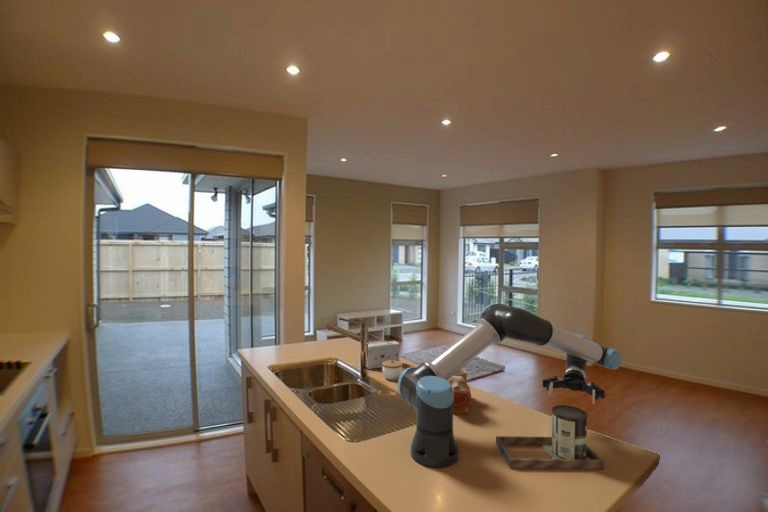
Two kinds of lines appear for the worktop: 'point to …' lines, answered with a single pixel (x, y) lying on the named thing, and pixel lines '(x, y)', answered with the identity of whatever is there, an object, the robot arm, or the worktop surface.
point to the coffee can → (569, 432)
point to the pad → (550, 451)
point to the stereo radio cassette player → (382, 353)
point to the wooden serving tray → (590, 463)
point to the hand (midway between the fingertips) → (571, 395)
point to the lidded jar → (392, 369)
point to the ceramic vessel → (460, 393)
